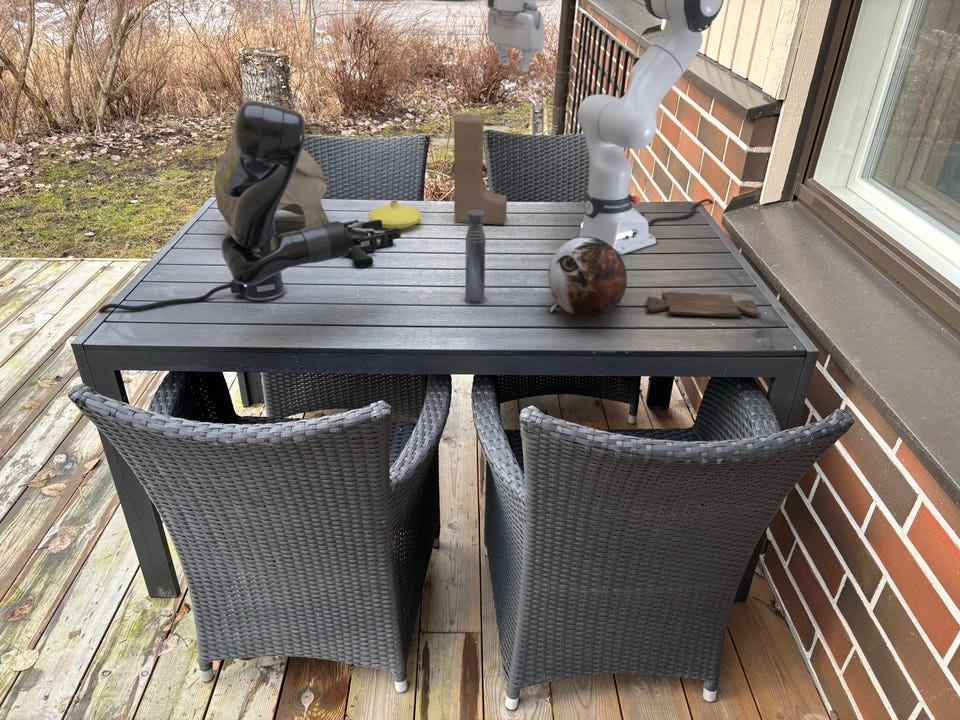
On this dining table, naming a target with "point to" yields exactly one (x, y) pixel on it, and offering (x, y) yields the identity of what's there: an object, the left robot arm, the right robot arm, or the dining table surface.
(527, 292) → the dining table surface
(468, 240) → the bottle
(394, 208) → the yellow domed disc
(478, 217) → the cap
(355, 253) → the handgun
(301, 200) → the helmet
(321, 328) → the dining table surface
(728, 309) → the dark wooden board
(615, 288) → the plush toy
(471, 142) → the decorative block
